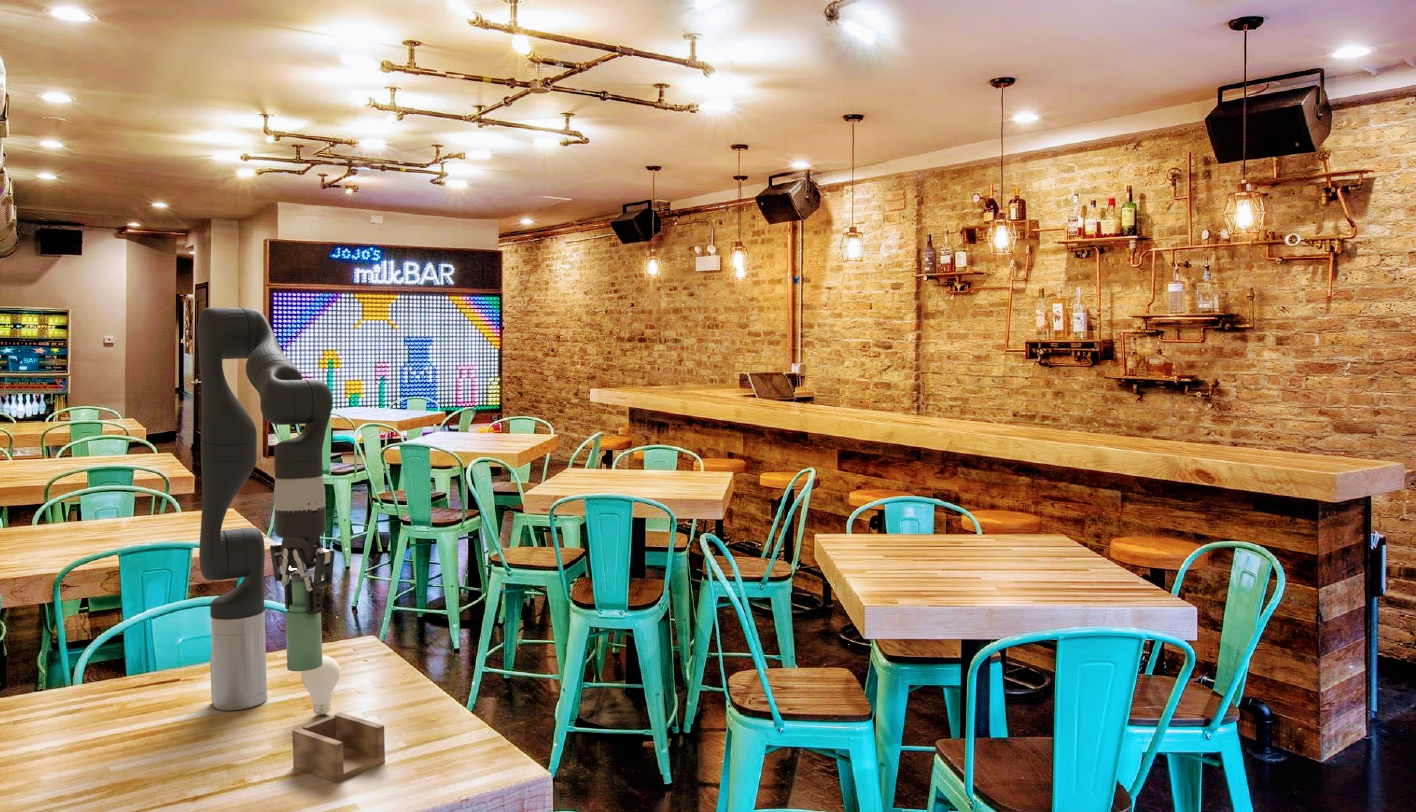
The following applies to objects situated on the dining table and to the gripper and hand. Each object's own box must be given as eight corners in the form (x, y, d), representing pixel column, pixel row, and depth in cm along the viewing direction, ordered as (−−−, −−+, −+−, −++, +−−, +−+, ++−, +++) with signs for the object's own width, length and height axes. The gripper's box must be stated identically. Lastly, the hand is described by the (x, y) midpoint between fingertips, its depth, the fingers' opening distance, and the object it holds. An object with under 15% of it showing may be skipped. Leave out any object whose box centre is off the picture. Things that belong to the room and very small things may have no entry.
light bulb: (327, 723, 172) (325, 663, 171) (294, 720, 173) (292, 660, 173) (348, 710, 178) (347, 651, 178) (316, 707, 180) (315, 649, 179)
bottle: (280, 668, 152) (277, 575, 152) (309, 659, 157) (306, 569, 156) (300, 673, 149) (296, 579, 149) (329, 664, 154) (326, 573, 153)
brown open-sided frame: (293, 767, 154) (292, 730, 153) (341, 747, 161) (340, 712, 161) (337, 783, 148) (336, 745, 147) (384, 762, 155) (384, 725, 155)
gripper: (251, 505, 153) (255, 611, 154) (306, 511, 145) (309, 622, 146) (294, 499, 159) (298, 601, 160) (348, 505, 151) (352, 611, 152)
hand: (303, 610), depth 153 cm, fingers closed on bottle, 5 cm apart
